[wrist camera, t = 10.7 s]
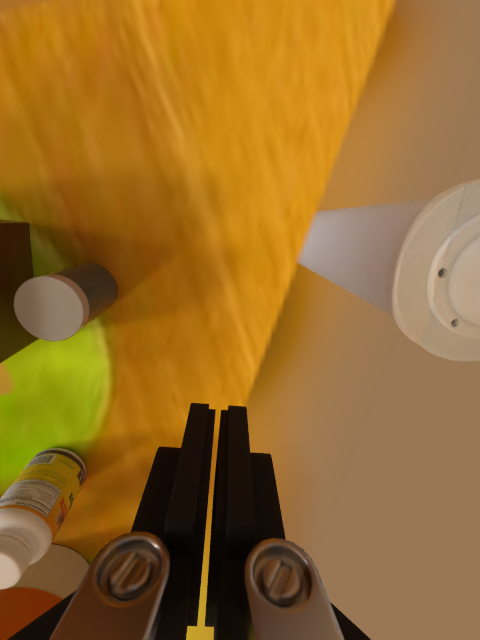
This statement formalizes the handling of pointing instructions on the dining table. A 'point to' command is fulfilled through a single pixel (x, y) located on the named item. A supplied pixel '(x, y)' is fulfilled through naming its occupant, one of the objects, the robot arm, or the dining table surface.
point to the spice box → (13, 285)
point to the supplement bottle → (36, 509)
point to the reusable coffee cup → (40, 588)
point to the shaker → (64, 300)
